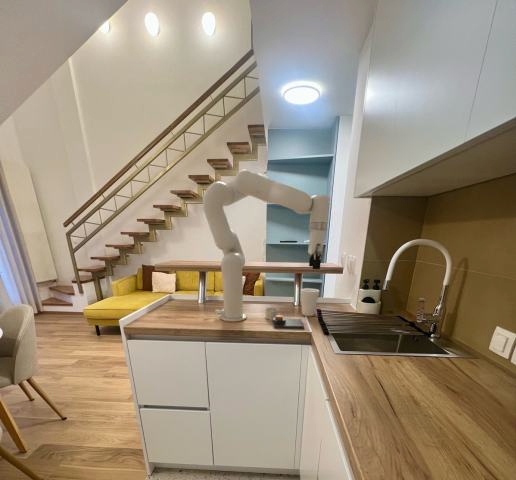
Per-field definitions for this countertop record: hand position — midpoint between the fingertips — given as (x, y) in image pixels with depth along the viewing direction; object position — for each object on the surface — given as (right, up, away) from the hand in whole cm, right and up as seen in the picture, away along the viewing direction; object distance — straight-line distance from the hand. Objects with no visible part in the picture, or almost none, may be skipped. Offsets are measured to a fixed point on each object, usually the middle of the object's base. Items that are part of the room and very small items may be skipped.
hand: (314, 267), depth 127 cm
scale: (-11, -26, +4) cm, 29 cm away
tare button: (-16, -23, +4) cm, 29 cm away
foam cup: (+1, -19, +22) cm, 29 cm away
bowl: (-19, -22, +14) cm, 32 cm away
